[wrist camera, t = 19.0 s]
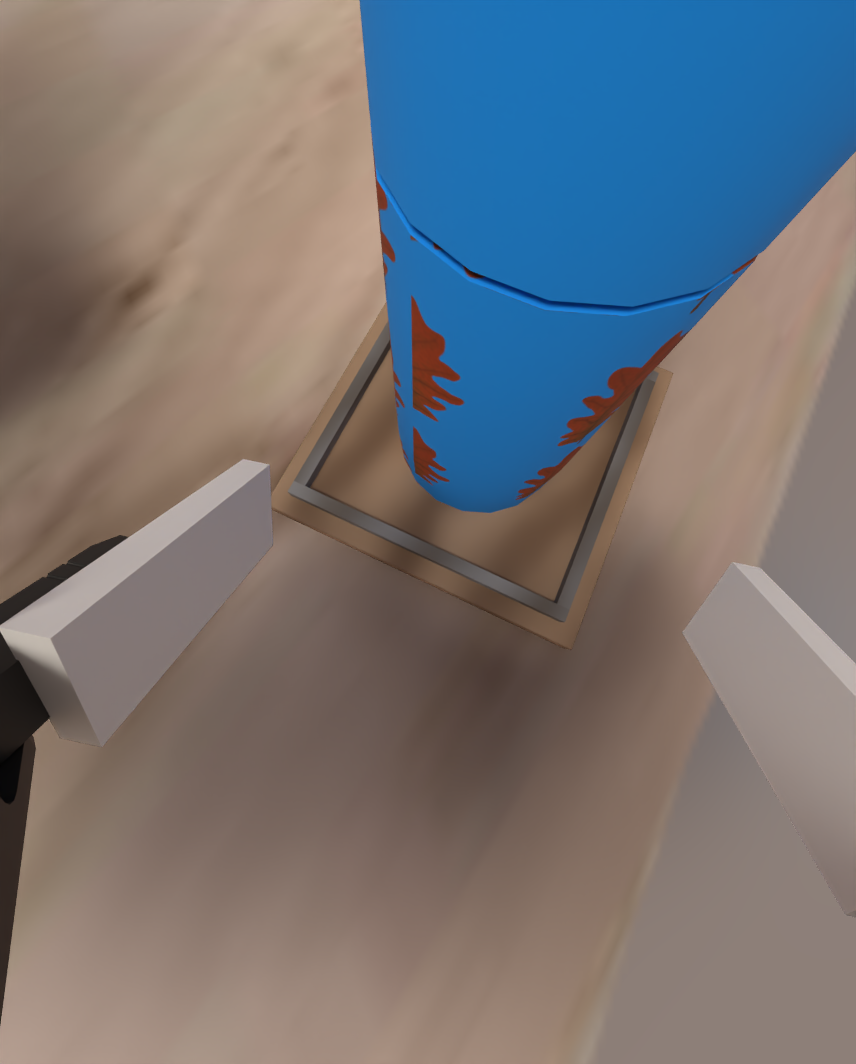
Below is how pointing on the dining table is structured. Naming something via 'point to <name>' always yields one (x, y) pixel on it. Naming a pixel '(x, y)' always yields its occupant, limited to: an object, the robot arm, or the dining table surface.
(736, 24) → the thermos
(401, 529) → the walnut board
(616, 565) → the dining table surface
